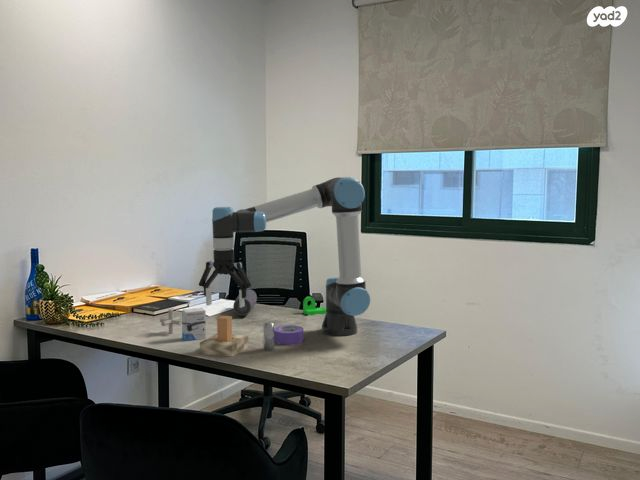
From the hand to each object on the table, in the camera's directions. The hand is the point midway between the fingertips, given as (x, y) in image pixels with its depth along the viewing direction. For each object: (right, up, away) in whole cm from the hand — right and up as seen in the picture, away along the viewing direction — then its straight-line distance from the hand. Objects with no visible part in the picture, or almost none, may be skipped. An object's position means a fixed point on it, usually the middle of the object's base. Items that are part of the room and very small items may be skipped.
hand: (225, 305), depth 215 cm
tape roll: (+23, -16, +15) cm, 31 cm away
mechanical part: (+34, -11, +63) cm, 73 cm away
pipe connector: (-26, -14, +24) cm, 39 cm away
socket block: (-1, -17, +2) cm, 17 cm away
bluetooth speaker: (-1, -11, +63) cm, 64 cm away
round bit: (+16, -17, +2) cm, 23 cm away
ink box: (-15, -15, +17) cm, 27 cm away
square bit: (0, -16, +1) cm, 16 cm away
